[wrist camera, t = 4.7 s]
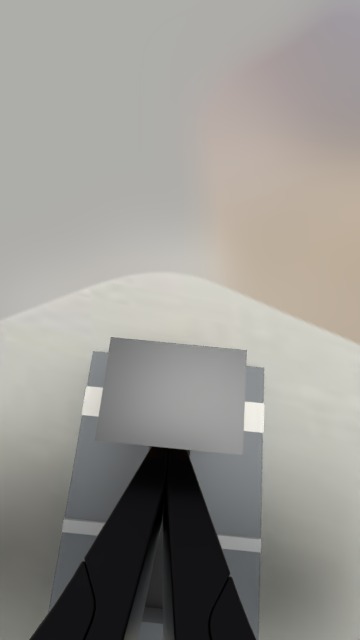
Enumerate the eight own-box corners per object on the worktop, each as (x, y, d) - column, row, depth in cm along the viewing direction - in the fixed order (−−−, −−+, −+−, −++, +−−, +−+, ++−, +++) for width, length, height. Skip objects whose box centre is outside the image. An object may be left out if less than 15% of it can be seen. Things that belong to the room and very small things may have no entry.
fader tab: (205, 427, 16) (243, 455, 7) (138, 420, 16) (94, 440, 7) (209, 378, 17) (246, 350, 8) (144, 372, 17) (110, 337, 8)
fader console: (251, 634, 14) (259, 657, 13) (55, 613, 14) (43, 634, 13) (258, 370, 17) (265, 367, 16) (98, 354, 17) (92, 350, 16)
